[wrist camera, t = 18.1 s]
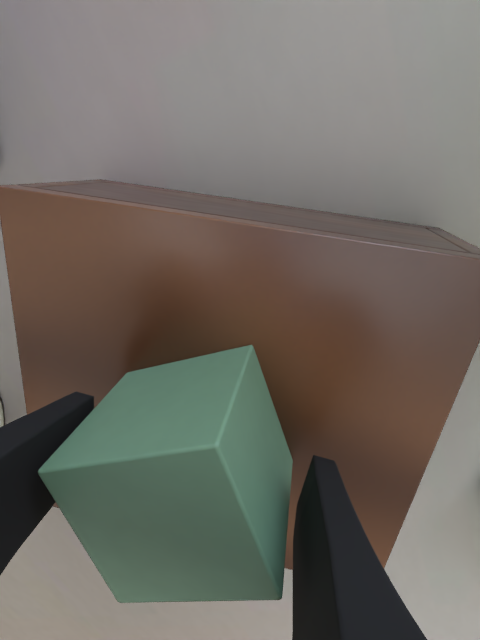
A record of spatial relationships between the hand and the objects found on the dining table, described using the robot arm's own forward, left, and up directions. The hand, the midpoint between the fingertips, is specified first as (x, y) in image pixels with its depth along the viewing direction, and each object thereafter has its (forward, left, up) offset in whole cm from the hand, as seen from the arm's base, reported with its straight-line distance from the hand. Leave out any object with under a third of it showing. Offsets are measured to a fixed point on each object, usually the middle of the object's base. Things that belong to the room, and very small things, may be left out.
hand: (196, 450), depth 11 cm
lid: (0, 0, -2) cm, 2 cm away
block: (0, 0, -2) cm, 2 cm away
